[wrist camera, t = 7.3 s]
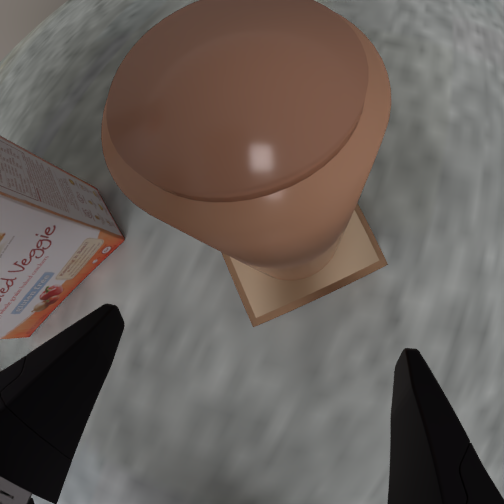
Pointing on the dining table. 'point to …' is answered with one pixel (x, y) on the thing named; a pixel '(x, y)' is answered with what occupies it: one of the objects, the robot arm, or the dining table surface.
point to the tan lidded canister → (250, 128)
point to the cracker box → (45, 237)
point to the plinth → (313, 287)
